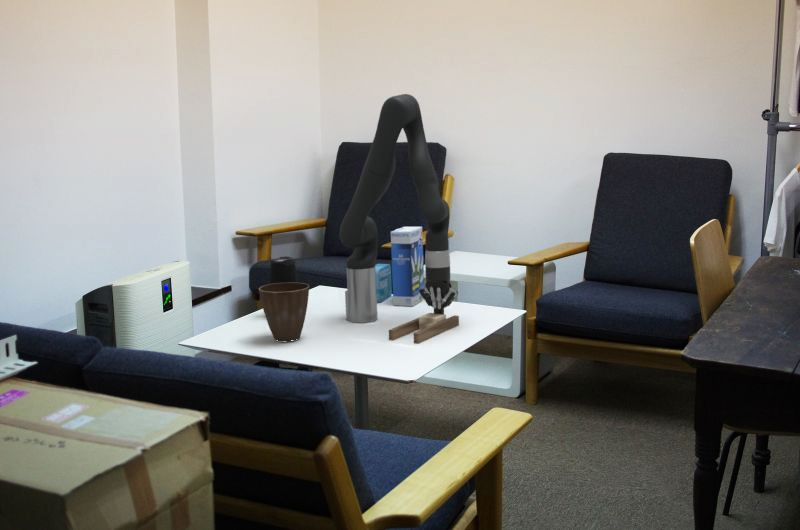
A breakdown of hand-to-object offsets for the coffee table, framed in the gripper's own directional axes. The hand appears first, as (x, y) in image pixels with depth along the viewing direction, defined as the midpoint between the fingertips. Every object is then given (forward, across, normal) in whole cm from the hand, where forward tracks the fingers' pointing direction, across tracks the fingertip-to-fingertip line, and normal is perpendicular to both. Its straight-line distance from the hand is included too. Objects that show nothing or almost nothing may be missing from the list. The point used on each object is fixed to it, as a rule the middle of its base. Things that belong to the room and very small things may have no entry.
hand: (439, 320), depth 284 cm
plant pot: (+3, -35, -30) cm, 47 cm away
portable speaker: (+3, -55, -7) cm, 55 cm away
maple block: (+2, 0, -4) cm, 4 cm away
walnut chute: (+2, 0, -9) cm, 9 cm away
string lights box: (+3, -28, +28) cm, 39 cm away
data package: (+3, -40, +28) cm, 49 cm away
